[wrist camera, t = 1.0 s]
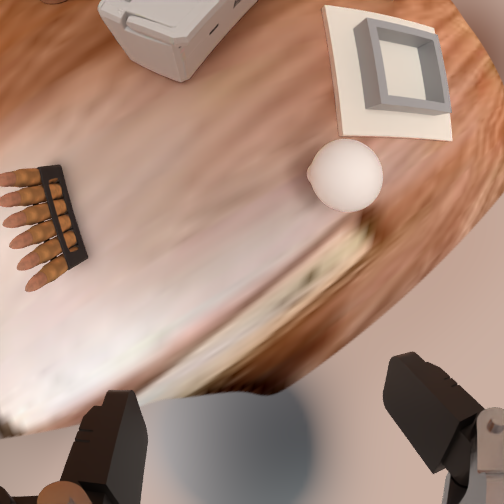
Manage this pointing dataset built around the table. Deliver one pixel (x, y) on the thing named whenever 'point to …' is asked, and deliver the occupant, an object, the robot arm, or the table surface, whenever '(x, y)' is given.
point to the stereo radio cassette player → (171, 31)
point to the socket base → (386, 76)
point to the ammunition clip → (59, 225)
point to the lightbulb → (346, 175)
